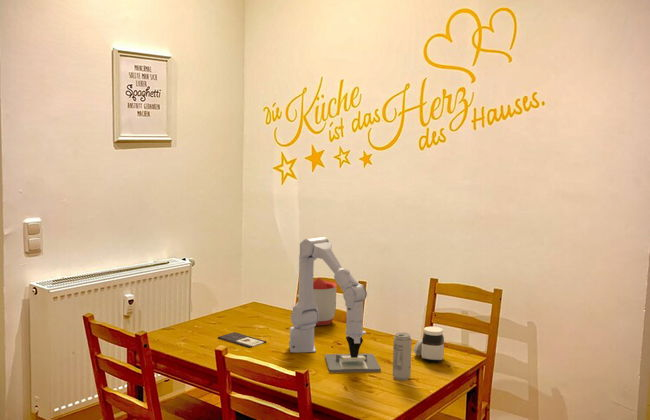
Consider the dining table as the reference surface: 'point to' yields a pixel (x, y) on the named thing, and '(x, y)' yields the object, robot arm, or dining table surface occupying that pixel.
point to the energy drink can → (402, 356)
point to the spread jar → (431, 345)
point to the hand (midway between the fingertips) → (353, 357)
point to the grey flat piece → (351, 363)
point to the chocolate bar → (242, 339)
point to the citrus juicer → (324, 300)
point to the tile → (353, 358)
